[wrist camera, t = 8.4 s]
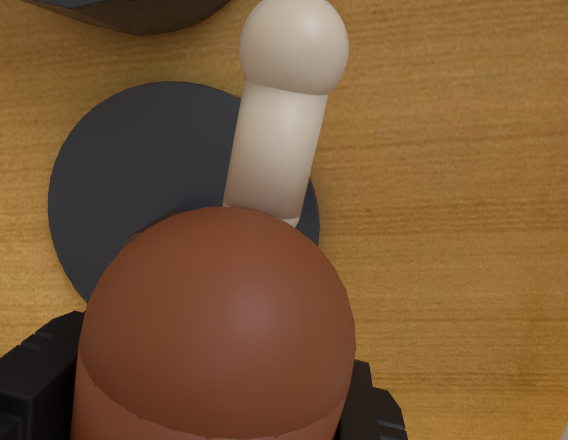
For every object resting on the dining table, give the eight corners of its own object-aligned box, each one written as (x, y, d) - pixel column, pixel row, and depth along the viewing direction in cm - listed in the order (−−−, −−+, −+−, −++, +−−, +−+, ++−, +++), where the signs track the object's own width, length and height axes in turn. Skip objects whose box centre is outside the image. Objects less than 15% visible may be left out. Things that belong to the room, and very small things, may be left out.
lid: (351, 120, 25) (357, 123, 19) (285, 372, 30) (272, 438, 24) (70, 53, 26) (-10, 35, 20) (48, 308, 31) (-22, 356, 25)
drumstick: (195, -18, 9) (26, -166, 4) (429, 30, 8) (536, -73, 4) (127, 458, 12) (-10, 675, 7) (294, 508, 12) (260, 771, 7)
